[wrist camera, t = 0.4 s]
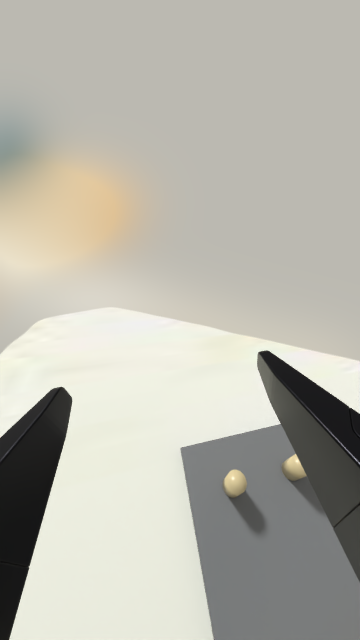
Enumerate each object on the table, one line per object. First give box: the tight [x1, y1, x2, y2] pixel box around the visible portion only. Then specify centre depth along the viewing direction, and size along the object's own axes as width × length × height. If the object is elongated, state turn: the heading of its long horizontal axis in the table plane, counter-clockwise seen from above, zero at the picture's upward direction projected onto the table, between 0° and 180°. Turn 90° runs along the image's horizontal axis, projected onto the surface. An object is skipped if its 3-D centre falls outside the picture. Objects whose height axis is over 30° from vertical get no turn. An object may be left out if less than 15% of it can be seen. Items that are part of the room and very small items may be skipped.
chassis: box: [181, 424, 360, 640], centre depth 15 cm, size 18×14×4 cm
